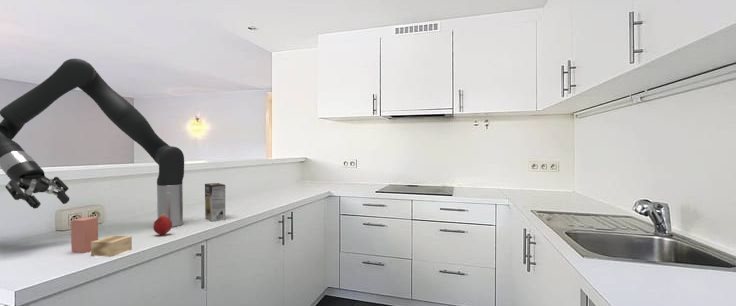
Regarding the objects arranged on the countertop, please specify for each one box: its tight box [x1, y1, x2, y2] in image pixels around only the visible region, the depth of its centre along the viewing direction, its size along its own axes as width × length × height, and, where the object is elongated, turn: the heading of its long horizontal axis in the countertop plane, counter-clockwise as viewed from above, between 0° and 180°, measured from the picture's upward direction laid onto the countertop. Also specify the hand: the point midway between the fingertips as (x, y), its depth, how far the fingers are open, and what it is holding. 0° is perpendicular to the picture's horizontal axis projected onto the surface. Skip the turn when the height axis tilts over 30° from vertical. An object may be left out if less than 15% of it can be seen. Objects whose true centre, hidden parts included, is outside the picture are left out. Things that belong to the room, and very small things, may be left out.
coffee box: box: [204, 182, 226, 222], centre depth 150 cm, size 9×6×16 cm
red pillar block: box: [70, 216, 99, 254], centre depth 103 cm, size 4×4×10 cm
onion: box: [153, 214, 173, 236], centre depth 122 cm, size 6×6×8 cm
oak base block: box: [90, 235, 133, 257], centre depth 101 cm, size 7×7×4 cm
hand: (52, 204), depth 104 cm, fingers open, 8 cm apart
